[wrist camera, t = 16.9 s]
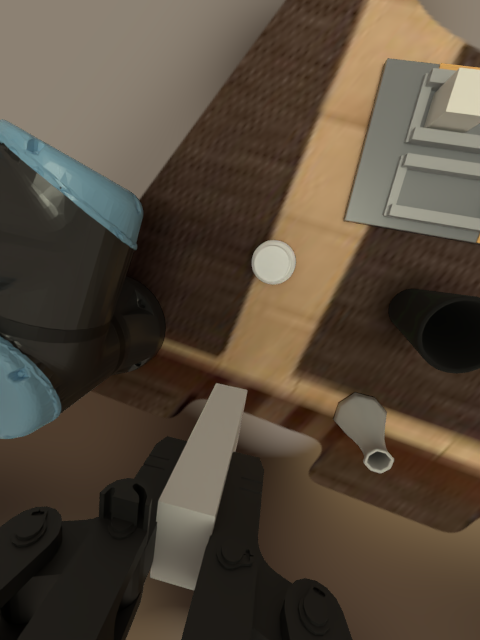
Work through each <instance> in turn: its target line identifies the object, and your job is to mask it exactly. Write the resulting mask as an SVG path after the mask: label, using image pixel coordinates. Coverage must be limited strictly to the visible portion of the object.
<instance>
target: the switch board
mask: <svg viewBox="0 0 480 640" xmlns="http://www.w3.org/2000/svg"><path fill="white" fill-rule="evenodd" d="M459 68H468V69H477V70H480V68H477V67H469V66H460V65H451V64H443V63H441V64H432V63H423V62H415V61H406V60H398V59H389V58H388V59H387V60H386V62H385V64H384V67H383V71H382V75H381V79H380V83H379V86H378V90H377V94H376V98H375V102H374V105H373V109H372V113H371V117H370V121H369V125H368V128H367V132H366V136H365V140H364V144H363V147H362V151H361V155H360V159H359V163H358V167H357V170H356V174H355V178H354V182H353V186H352V190H351V193H350V197H349V201H348V205H347V209H346V212H345V216H344V220H343V221H348V222H354V223H359V224H365V225H371V226H377V227H382V228H388V229H394V230H400V231H405V232H411V233H417V234H423V235H428V236H434V237H440V238H446V239H451V240H457V241H463V242H469V243H475V244H480V123H479V124H478V125H476V126H475V127H473V128H471V129H470V130H468V131H467V132H465V133H459V132H452V131H444V130H437V129H430V128H424V125H425V122H426V118H427V115H428V112H429V109H430V105H431V102H432V99H433V96H434V93H435V92H436V91H437V90H438V89H439V88H440V87H441V86H442V85H443V84H444V83H445V82H446V81H447V80H448V79H449V78H450V77H451V76H452V75H453V74H454V73H455V72H456V71H457V70H458V69H459Z"/></svg>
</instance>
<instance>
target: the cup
mask: <svg viewBox="0 0 480 640" xmlns="http://www.w3.org/2000/svg"><path fill="white" fill-rule="evenodd" d="M388 313H389V317H390V319H391V321H392V322H393V323H394V325H395V326H396V327H397V328H398V329H399V330H400V332H401V333H402V334H403V335H404V336H405V337H406V339H407V340H408V341H409V342H410V343H411V344H412V345H413V347H414V348H415V349H416V350H417V351H418V352H419V354H420V355H421V356H422V357H423V358H424V359H425V360H426V361H427V362H428V363H429V364H430V365H431V366H433V367H434V368H436V369H438V370H441V371H444V372H448V373H465V372H470V371H473V370H477V369H479V368H480V298H479V297H475V296H467V295H459V294H451V293H443V292H436V291H428V290H420V289H408V290H404V291H402V292H400V293H399V294H397V295H396V296H395V297H394V298H393V299H392V301H391V303H390V305H389V312H388Z"/></svg>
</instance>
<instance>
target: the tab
mask: <svg viewBox="0 0 480 640" xmlns="http://www.w3.org/2000/svg"><path fill="white" fill-rule="evenodd" d="M479 123H480V70H477V69H468V68H459V69H458V70H457V71H456V72H455V73H454V74H453V75H452V76H451V77H450V78H449V79H448V80H447V81H446V82H445V83H444V84H443V85H442V86H441V87H440V88H439V89H438V90H437V91H436V92H435V93H434V96H433V99H432V102H431V105H430V109H429V112H428V115H427V118H426V122H425V125H424V128H430V129H437V130H444V131H452V132H459V133H465V132H467V131H468V130H470V129H471V128H473V127H475V126H476V125H478V124H479Z"/></svg>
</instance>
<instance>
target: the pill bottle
mask: <svg viewBox="0 0 480 640" xmlns="http://www.w3.org/2000/svg"><path fill="white" fill-rule="evenodd" d="M295 266H296V257H295V254H294V251H293V250H292V248H291V247H290V246H289V245H288V244H286V243H285V242H283V241H279V240H269V241H266V242H264V243H262V244H261V245H259V246H258V247H257V249H256V250H255V252H254V254H253V256H252V269H253V272H254V274H255V275H256V277H257V278H258V279H259V280H261V281H262V282H264V283H267V284H272V285H275V284H280V283H283V282H285V281H286V280H288V279H289V278H290V277H291V275H292V274H293V272H294V270H295Z"/></svg>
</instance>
